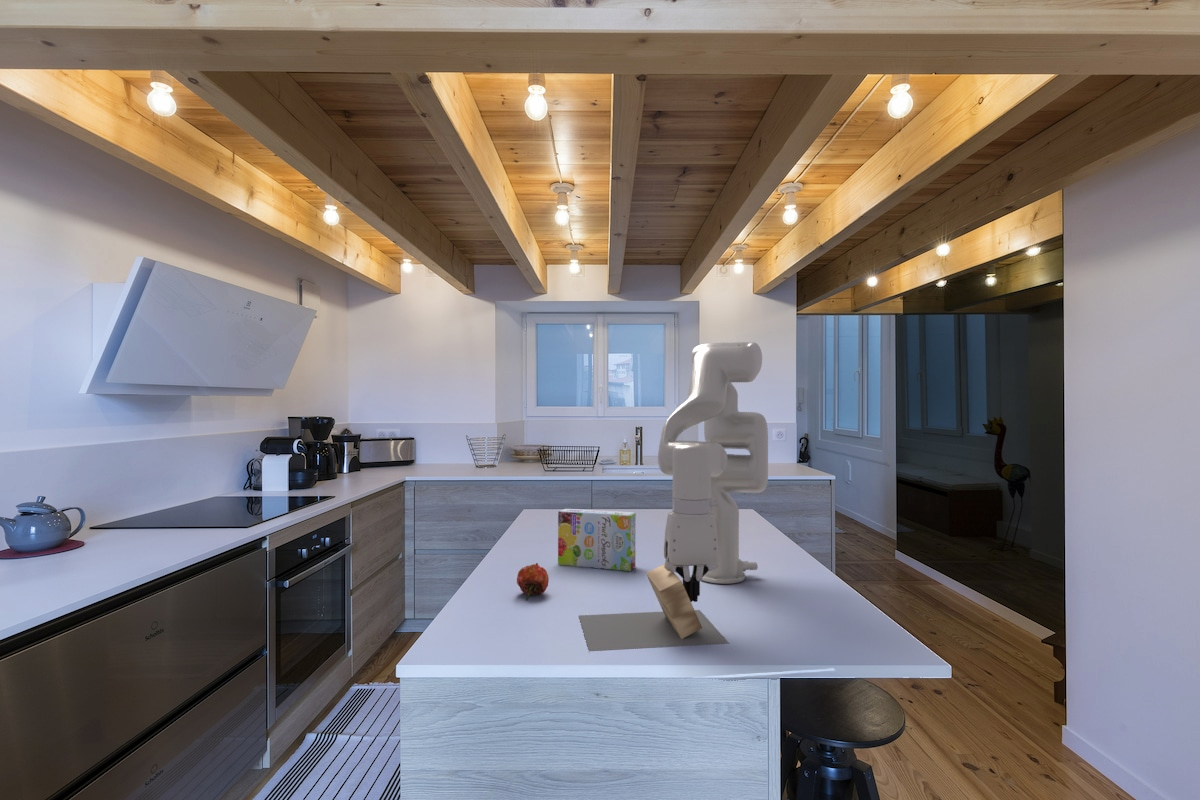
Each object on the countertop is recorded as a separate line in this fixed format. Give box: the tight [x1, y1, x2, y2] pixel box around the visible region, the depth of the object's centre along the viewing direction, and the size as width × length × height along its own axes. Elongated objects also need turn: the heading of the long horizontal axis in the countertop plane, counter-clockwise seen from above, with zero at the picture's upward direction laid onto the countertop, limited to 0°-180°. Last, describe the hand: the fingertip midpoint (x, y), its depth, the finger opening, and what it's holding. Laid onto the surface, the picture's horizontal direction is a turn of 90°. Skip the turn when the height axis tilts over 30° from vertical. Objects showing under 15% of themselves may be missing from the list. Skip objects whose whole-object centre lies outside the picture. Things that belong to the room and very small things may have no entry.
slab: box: [645, 563, 702, 639], centre depth 117 cm, size 4×12×10 cm, turn 8°
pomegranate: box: [516, 562, 550, 601], centre depth 138 cm, size 7×7×10 cm
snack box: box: [557, 508, 637, 572], centre depth 164 cm, size 21×6×15 cm, turn 71°
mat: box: [578, 609, 730, 652], centre depth 117 cm, size 26×18×1 cm
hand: (691, 599), depth 118 cm, fingers closed
